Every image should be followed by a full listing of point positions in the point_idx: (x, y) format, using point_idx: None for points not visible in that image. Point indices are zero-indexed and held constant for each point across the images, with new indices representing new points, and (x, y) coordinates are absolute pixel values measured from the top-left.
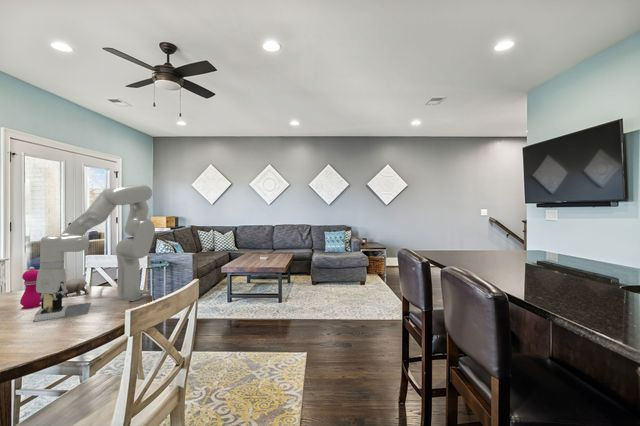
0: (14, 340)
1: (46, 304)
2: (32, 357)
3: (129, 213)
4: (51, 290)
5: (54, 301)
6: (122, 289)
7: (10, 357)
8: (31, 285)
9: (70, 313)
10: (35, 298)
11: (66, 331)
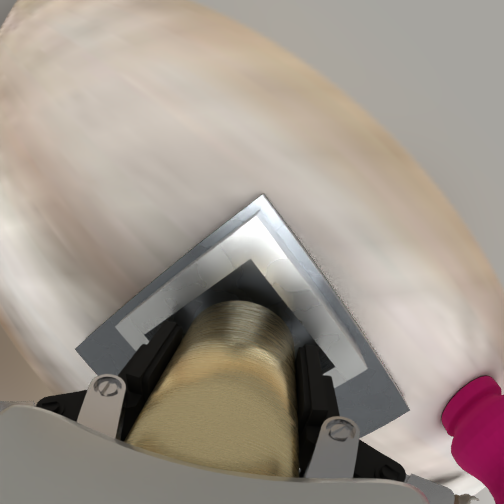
0: (157, 17)
1: (214, 343)
2: (18, 8)
3: None
4: (19, 442)
5: (133, 371)
6: None
7: None
8: None
9: None
10: (474, 444)
11: (26, 159)
